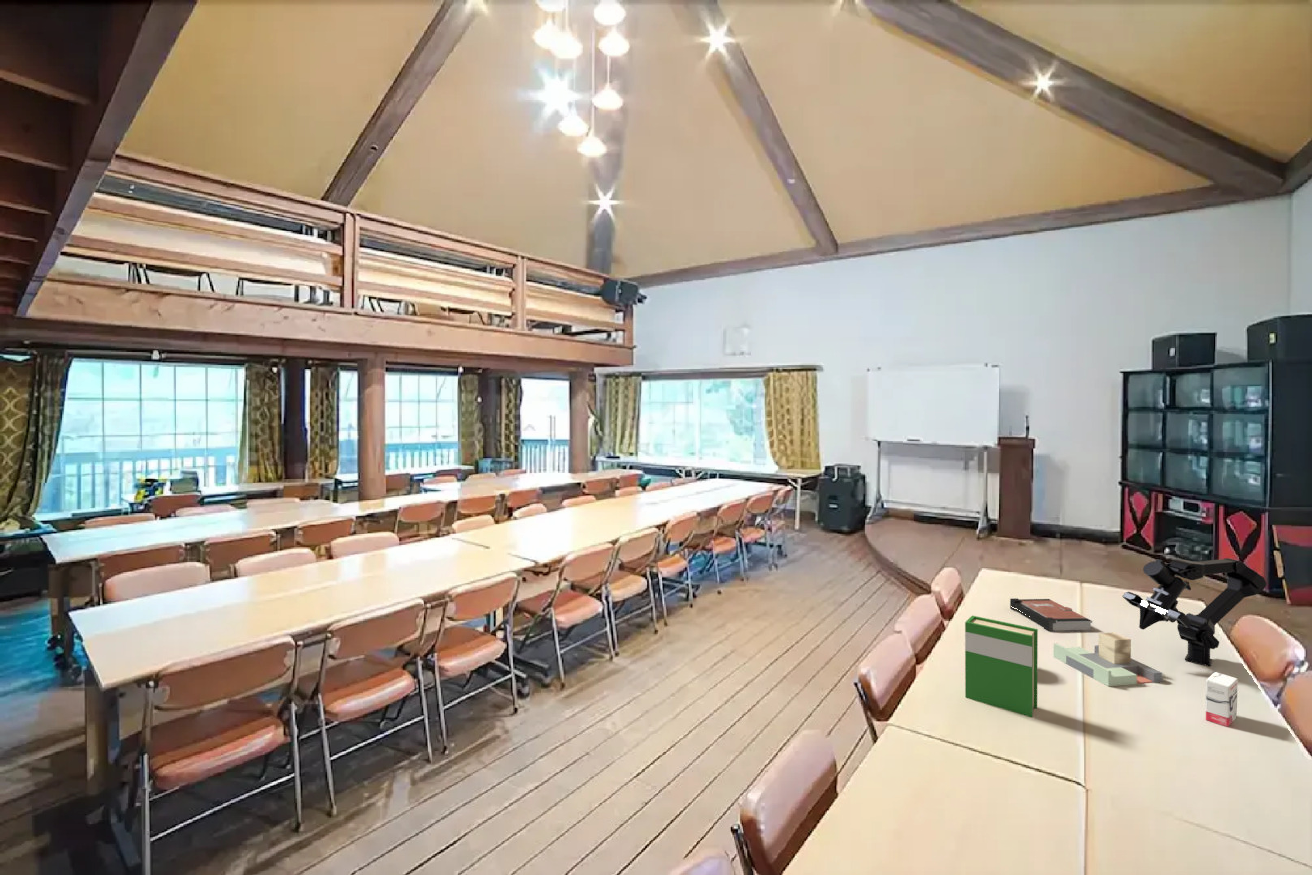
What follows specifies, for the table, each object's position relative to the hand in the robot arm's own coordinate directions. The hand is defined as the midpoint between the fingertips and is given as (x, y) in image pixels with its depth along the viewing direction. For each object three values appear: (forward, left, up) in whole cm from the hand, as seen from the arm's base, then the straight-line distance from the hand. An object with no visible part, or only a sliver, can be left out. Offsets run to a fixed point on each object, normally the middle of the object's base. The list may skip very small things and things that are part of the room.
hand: (1141, 628), depth 195 cm
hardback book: (+59, -24, -13) cm, 65 cm away
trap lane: (+11, -8, -13) cm, 19 cm away
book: (-28, -34, -14) cm, 46 cm away
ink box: (+26, +22, -13) cm, 36 cm away
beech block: (+8, -6, -10) cm, 14 cm away
